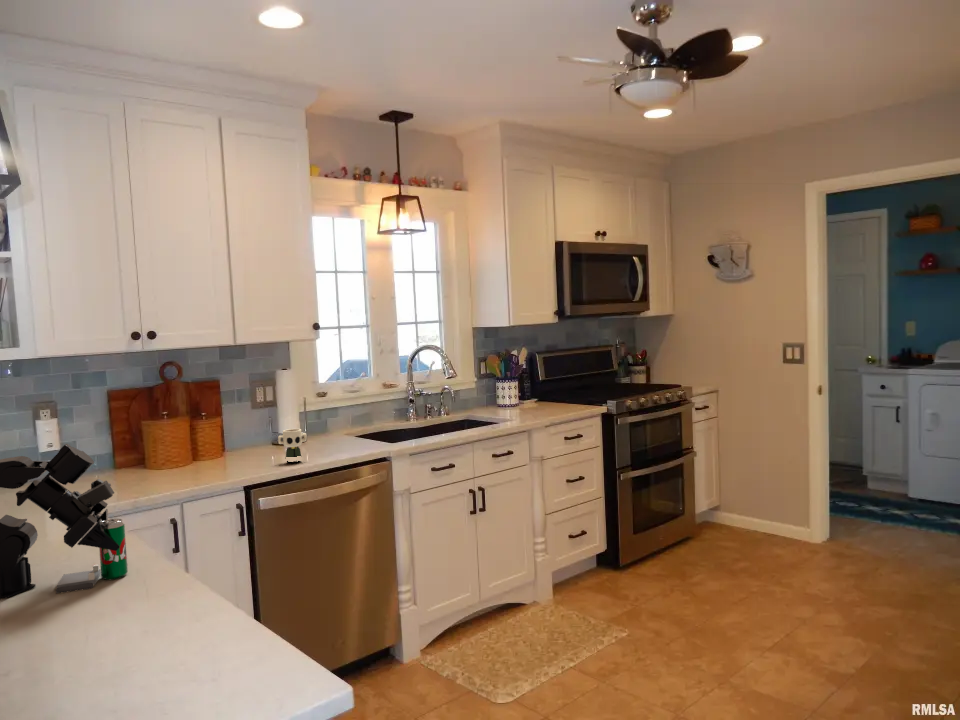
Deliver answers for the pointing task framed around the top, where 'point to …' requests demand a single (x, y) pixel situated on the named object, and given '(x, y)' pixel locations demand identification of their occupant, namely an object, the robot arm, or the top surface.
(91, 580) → the switch plate
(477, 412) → the top surface
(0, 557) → the robot arm
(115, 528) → the soda can
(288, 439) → the character mug
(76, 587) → the dark grey rod
